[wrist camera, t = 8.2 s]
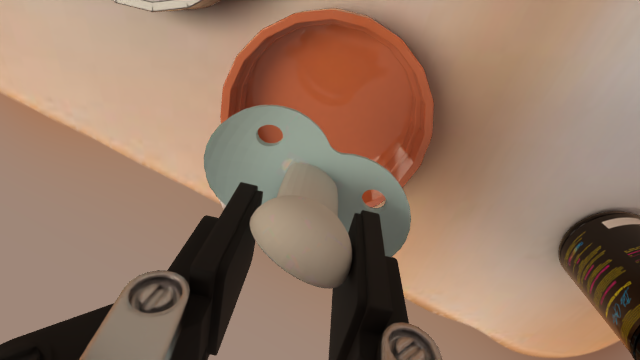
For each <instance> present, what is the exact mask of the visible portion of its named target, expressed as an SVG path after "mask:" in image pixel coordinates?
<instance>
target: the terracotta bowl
mask: <svg viewBox="0 0 640 360" xmlns="http://www.w3.org/2000/svg"><path fill="white" fill-rule="evenodd" d="M223 86H224V87H223V93H222V105H221V116H220V118H221V124H222V123H223V122H224V121H226V120H227V119H228V118H229V117H231V116H232V115H234V114H236V113H238V112H240V111H242V110H244V109H247V108H250V107H254V106H258V105H280V106H285V107H288V108H292V109H295V110H297V111H299V112H301V113H303V114H304V115H306V116H308V117H309V118H310V119H311V120H312V121H314V122H315V123H316V124H317V125H318V126H319V127H320V129H321V130H322V131H323V133H324V134H325V135H326V137H327V140H328V142H329V144H330V146H331V147H332V148H333V149H335V150H336V151H338V152H341V153H349V154H356V155H360V156H363V157H366V158H369V159H371V160H373V161H375V162H377V163H379V164H380V165H381V166H383V167H384V168H385V169H387V170H388V171H389V172H390V173H391V174H392V175H393V176H394V177H395V178H396V180H397V181H398V183H399V184H400V186H401V187H403V186H404V185H405V184H406V183H407V181H408V180H409V179H410V178H411V177H412V175H413V174H414V173H415V172H416V170H417V169H418V168H419V167H420V165H421V163H422V160H423V158H424V155H425V153H426V150H427V148H428V145H429V143H430V140H431V138H432V130H433V111H434V101H433V98H432V95H431V91H430V88H429V84H428V81H427V78H426V74H425V71H424V69H423V67H422V66H421V64H420V63H419V62H418V60H417V59H416V58H415V56H414V55H413V53H412V52H411V51H410V49H409V48H408V47H407V45H406V44H405V42H404V41H403V40H402V39H401V38H400V37H398V36H397V35H396V34H394V33H393V32H391V31H390V30H388V29H387V28H385V27H384V26H382V25H381V24H379V23H378V22H376V21H375V20H373V19H372V18H370V17H369V16H366V15H362V14H358V13H354V12H350V11H346V10H342V9H338V8H329V9H319V10H310V11H302V12H298V13H294V14H292V15H290V16H288V17H286V18H284V19H282V20H280V21H278V22H276V23H274V24H272V25H270V26H268V27H266V28H264V29H262V30H261V31H260V32H259V33H258V34H257V35H256V36H255V37H254V38H253V39H252V40H251V41H250V42H249V43H248V44H247V45H246V46H245V47H244V48H243V49H242V50H241V52H240V53H239V54H238V55H237V56H236V58H235V61H234V63H233V65H232V67H231V70H230V72H229V74H228V76H227V79H226V81H225V83H224V85H223ZM258 135H259V138H260V139H261V140H263V141H264V142H267V143H277V142H279V141H281V140H282V139H283V133H282V131H281V130H280V128H278V127H277V126H274V125H264V126H262V127H260V128H259V129H258ZM362 199H363V201H364V203H365V204H366V205H368V206H369V207H371V208H372V207H375V206H377V205H378V204H380V203H381V202H383V201H384V200H386V199H385V196H384V195H383V194H382V193H381V192H379V191H377V190H367V191H366V192H364V193H363V195H362Z"/></svg>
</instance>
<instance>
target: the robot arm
mask: <svg viewBox="0 0 640 360" xmlns="http://www.w3.org/2000/svg"><path fill="white" fill-rule="evenodd" d="M262 198H263V191H258V186H256V185H252V184H248V183H243V182H240V184H239V185H238V187H237V189H236V190H235V192H234V194H233V195H232V197H231V199H230V200H229V202H228V204H227V205H226V207H225V209H224V211H223V212H222V214H221V216H220V217H219V218H216V217H211V216H204V217H203V218H202V220H201V221H200V223H199V224H198V226H197V227H196V229H195V230H194V232H193V233H192V235H191V236H190V238H189V239H188V241H187V242H186V244H185V245H184V247H183V248H182V250H181V251H180V253H179V254H178V256H177V257H176V259H175V260H174V262H173V263H172V265H171V266H170V267H169V269H168V270H167V271H160V270H158V271H152V272H147V273H144V274H142V275H139V276H137V277H136V278H134V279H133V280H131V281H130V282H129V283H128V284H127V285H126V286H125V287H124V289H123V290H122V292H121V294H120V295H119V297H118V298H117V300H116V301H115V303H114V304H111V305H108V306H106V307H102V308H100V309H97V310H94V311H91V312H88V313H85V314H83V315H80V316H77V317H74V318H71V319H69V320H65V321H63V322H60V323H57V324H54V325H51V326H48V327H46V328H43V329H40V330H37V331H34V332H32V333H29V334H26V335H23V336H20V337H17V338H14V339H12V340H10V341H7V342H5V343H3V344H1V345H0V360H208V357H209V355H210V354H212V355H217V353H218V350H219V348H220V345H221V343H222V340H223V337H224V334H225V332H226V329H227V326H228V324H229V321H230V318H231V316H232V313H233V310H234V308H235V305H236V302H237V299H238V297H239V294H240V291H241V289H242V286H243V283H244V281H245V278H246V275H247V273H248V270H249V267H250V264H251V261H252V257H253V252H254V245H255V239H254V237H253V235H252V232H251V230H250V218H251V216H252V215H253V213H254V212H255V211H256V209H257V208H258V207H260V206H261V204H262ZM348 235H349V238H350V241H351V246H352V264H351V268H350V271H349V274H348V276H347V278H346V279H345V281H344V282H343V284H341V285H340V286H338V287H335V288H333V296H332V312H331V329H330V347H329V360H442V357H441V354H440V351H439V348H438V346H437V345H436V343H435V342H434V340H433V339H432V338H431V337H430V336H429V335H428V334H427V333H426V332H424V331H423V330H421V329H420V328H419V327H416V326H414V325H411V324H409V322H408V317H407V311H406V306H405V300H404V295H403V289H402V284H401V278H400V273H399V267H398V262H397V259H396V258H393V257H388V256H385V250H384V243H383V236H382V229H381V222H380V215H379V214H378V213H374V212H369V211H365V210H362V211H361V213H360V214H359V213H355V214H354V216H353V219H352V223H351V226H350V229H349V232H348Z"/></svg>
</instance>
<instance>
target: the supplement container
mask: <svg viewBox="0 0 640 360" xmlns="http://www.w3.org/2000/svg"><path fill="white" fill-rule="evenodd" d="M559 260H560V263H561V265H562V267H563V268H564V270H565V271H566V272H567V274H568V275H569V276H570V277H571V279H572V280H573V281H574V282H575V284H576V285H577V286H578V287H579V289H580V290H581V291H582V292H583V294H584V295H585V296H586V297H587V299H588V300H589V301H590V302H591V304H592V305H593V306H594V308H595V309H596V310H597V311H598V313H599V314H600V315H601V316H602V318H603V319H604V320H605V321H606V323H607V324H608V325H609V326H610V328H611V329H612V330H613V331H614V333H615V334H616V335H617V336H618V338H619V339H620V340H621V341H622V343H623V344H624V345H625V347H626V348H627V349H628V350H629V351H630V353H631V354H632V356H633V358H634V359H635V360H640V216H638V215H635V214H632V213H628V212H621V211H610V212H603V213H598V214H595V215H592V216H589V217H587V218H585V219H583V220H581V221H579V222H578V223H576V224H575V225H574V226H573V227H571V228H570V229H569V230H568V232H567V233H566V234H565V236H564V237H563V239H562V241H561V243H560V246H559Z"/></svg>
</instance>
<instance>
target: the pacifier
mask: <svg viewBox="0 0 640 360" xmlns="http://www.w3.org/2000/svg"><path fill="white" fill-rule="evenodd" d="M264 125H274V126H277V127H278V128H280V130H281V131H282V133H283V139H282V140H281V141H279V142H277V143H267V142H264V141H263V140H261V139H260V138H259V135H258V129H259V128H260V127H262V126H264ZM204 168H205V172H206V177H207V180H208V183H209V186H210V188H211V189H212V190H213V191H214V193H215V194H216V196H217V197H218V199H219V201H220V203H221V205H222V207H223V208H224V209H225V207H226V205H227V204H228V202H229V200H230V199H231V197H232V195H233V194H234V192H235V190H236V189H237V187H238V185H239V184H240V182H243V183H248V184H252V185H256V186H258V191H263V198H262V204H261V206H260V207H258V208H257V209H256V211H255V212H254V213H253V215H252V216H251V218H250V230H251V232H252V235H253V237H254V239H255V241H256V242H257V243H258V245H259V246H260V247H261V249H262V250H263V251H264V252H265V254H267V255H268V257H269V258H270V259H271V260H272V261H274V262H275V263H276V264H277V265H278V266H280V267H281V268H282V269H284V270H285V271H286V272H288V273H289V274H291V275H293V276H294V277H296V278H297V279H299V280H302V281H304V282H306V283H308V284H311V285H314V286H317V287H321V288H335V287H338V286H340V285H341V284H343V282H344V281H345V279H346V278H347V276H348V274H349V271H350V268H351V264H352V246H351V241H350V238H349V235H348V232H349V229H350V226H351V223H352V219H353V216H354V214H355V213H359V214H360V213H361V211H362V210H365V211H369V212H374V213H378V214H379V215H380V222H381V229H382V236H383V243H384V250H385V256H388V257H392V256H393V255H394V254H395V253H396V252H397V251H398V250H400V248H401V247H402V245H403V244H404V242H405V241H406V238H407V235H408V233H409V230H410V222H411V215H410V206H409V203H408V201H407V198H406V195H405V193H404V191H403V189H402V187H401V186H400V184H399V183H398V181H397V180H396V178H395V177H394V176H393V175H392V174H391V173H390V172H389V171H388V170H387V169H385V168H384V167H383V166H381V165H380V164H379V163H377V162H375V161H373V160H371V159H369V158H366V157H363V156H360V155H356V154H349V153H341V152H338V151H336V150H335V149H333V148H332V147H331V146H330V144H329V142H328V140H327V137H326V135H325V134H324V133H323V131H322V130H321V129H320V127H319V126H318V125H317V124H316V123H315V122H314V121H312V120H311V119H310V118H309V117H308V116H306V115H304V114H303V113H301V112H299V111H297V110H295V109H292V108H288V107H285V106H280V105H258V106H254V107H250V108H247V109H244V110H242V111H240V112H238V113H236V114H234V115H232V116H231V117H229V118H228V119H227V120H226V121H224V122H223V123H222V124H221V125H219V127H218V128H217V129H216V130H215V132H214V133H213V134H212V135H211V137H210V140H209V142H208V144H207V146H206V150H205V154H204ZM367 190H377V191H379V192H381V193H382V194H383V195H384V196H385V199H386V202H385V204H384V206H382V207H381V208H371V207H369V206H368V205H366V204H365V203H364V201H363V199H362V195H363V193H364V192H366V191H367Z"/></svg>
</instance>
